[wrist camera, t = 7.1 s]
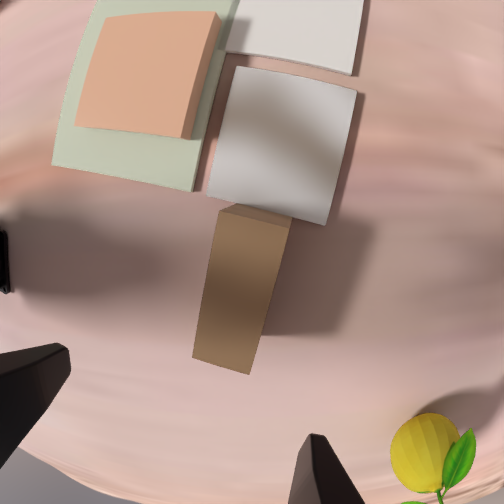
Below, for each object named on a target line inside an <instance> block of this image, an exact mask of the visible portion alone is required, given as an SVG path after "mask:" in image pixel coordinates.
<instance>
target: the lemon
mask: <svg viewBox="0 0 504 504" xmlns="http://www.w3.org/2000/svg"><path fill="white" fill-rule="evenodd" d="M475 452H476V439H475V436H474V433H473V431H472V428H470V429H469V430H468V431H467V432H466V433H465V434H464V435H462V437H461V438H460V435H459V433H458V430H457V428H456V427H455V425H454V424H453V423H452V422H451V421H450V420H449V419H447V418H446V417H444V416H442V415H440V414H436V413H424V414H421V415H418V416H416V417H414V418H412V419H410V420H408V421H407V422H406V423H405V424H403V425H402V426H401V427H400V429H399V430H398V431H397V433H396V434H395V436H394V438H393V440H392V443H391V449H390V454H391V464H392V468H393V470H394V473H395V474H396V476H397V478H398V479H399V480H400V482H401V483H402V484H403V485H404V486H405V487H406V488H408V489H409V490H411V491H414V492H417V493H431V492H434V493H437V496H438V500H439V503H440V504H443V501H442V498H443V496H444V495H445V493H446V492H447V490H448V489H450V488H451V487H453V486H454V485H456V484H457V483H459V482H460V481H461V480H462V479H463V478H464V477H465V476H466V475H467V474H468V472H469V470H470V469H471V466H472V464H473V461H474V458H475ZM443 487H445V491H444V493H443V495H442V496H441V493H440V491H441V490H442V489H443ZM402 504H426V503H422V502H414V501H410V502H404V503H402Z"/></svg>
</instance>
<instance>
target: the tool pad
mask: <svg viewBox="0 0 504 504" xmlns="http://www.w3.org/2000/svg"><path fill="white" fill-rule="evenodd" d="M236 2H237V0H236ZM363 2H364V0H240V3H239V0H238V3H239V6H237V7H238V9H236V8H237V7H236V8H235V7H234V8H235V9H236V10H237V12H235V13H236V15H235V16H234V17H235V18H234V17H233V18H234V21H233V20H232V21H233V24H231V25H232V26H231V27H230V28H231V30H230V32H229V33H230V34H229V35H228V36H229V38H228V40H227V41H226V40H223V41H225V42H227V43H226V44H224V45H226V46H224V47H226V48H225V51H226V53H235V54H243V55H251V56H258V57H265V58H271V59H277V60H283V61H288V62H293V63H298V64H303V65H308V66H312V67H317V68H321V69H325V70H329V71H333V72H337V73H341V74H344V75H348V76H351V73H352V68H353V62H354V57H355V51H356V46H357V40H358V34H359V28H360V22H361V16H362V9H363ZM231 4H232V5H233V3H231ZM236 4H237V3H236ZM234 5H235V0H234ZM235 6H236V5H235ZM230 7H231V6H230ZM234 8H231V9H234ZM230 11H231V12H232V10H229V13H230ZM233 11H234V10H233ZM235 13H233V14H235ZM230 15H232V14H230ZM230 18H232V17H230ZM230 18H228V20H227V21H228V23H229V21H230V20H229V19H230ZM227 21H225V22H227ZM228 23H227V24H228ZM230 23H231V21H230ZM230 23H229V24H230ZM225 24H226V23H225ZM224 26H226V25H224ZM227 26H228V25H227ZM227 26H226V27H227ZM226 27H224V30H225V31H226V32H225V31H224V30H223V31H224V33H227V34H228V32H227V30H226V29H228V27H227V28H226ZM223 31H222V32H223ZM222 35H224V34H222ZM225 35H226V34H225ZM226 36H227V35H226ZM223 38H224V37H223ZM225 39H227V38H226V37H225ZM221 40H222V39H221V38H220V41H221ZM220 41H219V43H220ZM222 43H224V42H222ZM222 43H221V44H219V45H220V48H222V47H221V45H222ZM222 46H223V45H222ZM224 47H223V48H224ZM217 49H218V48H217ZM218 50H219V49H218ZM220 50H221V49H220ZM222 50H223V49H222Z"/></svg>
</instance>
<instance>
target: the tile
mask: <svg viewBox="0 0 504 504" xmlns="http://www.w3.org/2000/svg"><path fill="white" fill-rule="evenodd" d="M221 24H222V21H221V19H220V18H219V16H218V15H217V13H216V11H170V12H152V13H140V14H130V15H121V16H114V17H107V18H106V19H105V21H104V24H103V26H102V29H101V32H100V34H99V37H98V40H97V43H96V46H95V49H94V52H93V55H92V58H91V61H90V64H89V68H88V71H87V74H86V78H85V81H84V85H83V89H82V93H81V97H80V101H79V105H78V109H77V113H76V118H75V123H74V126H76V127H83V128H93V129H104V130H114V131H124V132H133V133H141V134H149V135H156V136H163V137H170V138H177V139H183V140H190V139H191V134H192V130H193V126H194V122H195V117H196V113H197V109H198V105H199V101H200V97H201V93H202V90H203V86H204V82H205V78H206V75H207V71H208V67H209V64H210V60H211V57H212V54H213V50H214V47H215V43H216V40H217V37H218V34H219V30H220V27H221Z"/></svg>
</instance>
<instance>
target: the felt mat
mask: <svg viewBox="0 0 504 504" xmlns="http://www.w3.org/2000/svg"><path fill="white" fill-rule="evenodd" d="M231 3H233V5H232V4H231ZM236 3H237V4H236ZM239 3H240V0H239ZM239 3H238V0H237V2H236V0H235V5H236V6H235V5H234V0H97V2H96V4H95V7H94V9H93V12H92V14H91V16H90V19H89V21H88V24H87V26H86V29H85V32H84V34H83V37H82V40H81V43H80V46H79V49H78V52H77V55H76V58H75V61H74V64H73V67H72V71H71V74H70V78H69V81H68V85H67V89H66V92H65V96H64V100H63V105H62V109H61V114H60V118H59V123H58V128H57V133H56V139H55V145H54V151H53V157H52V164H51V165H54V166H60V167H66V168H72V169H77V170H83V171H88V172H94V173H99V174H105V175H110V176H115V177H120V178H125V179H130V180H135V181H140V182H145V183H150V184H155V185H160V186H164V187H169V188H174V189H178V190H183V191H187V192H193V189H194V184H195V179H196V174H197V170H198V165H199V160H200V156H201V151H202V146H203V142H204V138H205V133H206V129H207V125H208V121H209V116H210V112H211V108H212V104H213V100H214V96H215V92H216V89H217V85H218V81H219V77H220V74H221V70H222V66H223V63H224V59H225V56H226V51H225V48H226V47H224V46H226V45H224V44H226V43H227V42H225V41H223V40H226V41H227V40H228V38H229V36H228V35H229V34H230V33H229V32H230V30H231V28H230V27H231V26H232V25H231V24H233V21H234V18H235V17H234V16H235V15H236V13H235V12H237V10H236V9H238V7H237V6H239ZM230 6H231V7H230ZM234 7H235V8H236V7H237V8H236V9H235V8H234ZM231 8H234V9H231ZM229 10H232V12H231V11H230V13H229ZM233 10H234V11H233ZM170 11H216V13H217V15H218V16H219V18H220V19H221V21H222V24H221V27H220V30H219V34H218V37H217V40H216V43H215V47H214V50H213V54H212V57H211V60H210V64H209V67H208V71H207V75H206V78H205V82H204V86H203V90H202V93H201V97H200V101H199V105H198V109H197V113H196V117H195V122H194V126H193V130H192V134H191V139H190V140H183V139H177V138H170V137H163V136H156V135H149V134H141V133H133V132H124V131H114V130H104V129H93V128H83V127H76V126H74V123H75V118H76V113H77V109H78V105H79V101H80V97H81V93H82V89H83V85H84V81H85V78H86V74H87V71H88V68H89V64H90V61H91V58H92V55H93V52H94V49H95V46H96V43H97V40H98V37H99V34H100V32H101V29H102V26H103V24H104V21H105V19H106V18H107V17H114V16H121V15H130V14H140V13H152V12H170ZM233 13H235V14H233ZM230 14H232V15H230ZM230 17H232V18H230ZM233 17H234V18H233ZM228 18H230V19H229V20H230V21H231V23H230V21H229V23H230V24H229V23H228V21H227V20H228ZM232 20H233V21H232ZM225 21H227V22H225ZM225 23H226V24H225ZM227 23H228V24H227ZM224 25H226V26H227V25H228V26H227V27H228V29H226V30H227V32H228V34H227V33H224V31H225V30H224V27H226V26H224ZM227 27H226V28H227ZM223 30H224V31H223ZM222 31H223V32H222ZM225 32H226V31H225ZM222 34H224V35H222ZM225 34H226V35H227V36H226V35H225ZM223 37H224V38H223ZM225 37H226V38H227V39H225ZM220 38H221V39H222V40H221V41H220ZM219 41H220V43H219ZM222 42H224V43H222ZM221 43H222V45H223V46H222V45H221V47H222V48H220V45H219V44H221ZM223 47H224V48H223ZM217 48H218V49H219V50H218V49H217ZM220 49H221V50H220ZM222 49H223V50H222Z"/></svg>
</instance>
